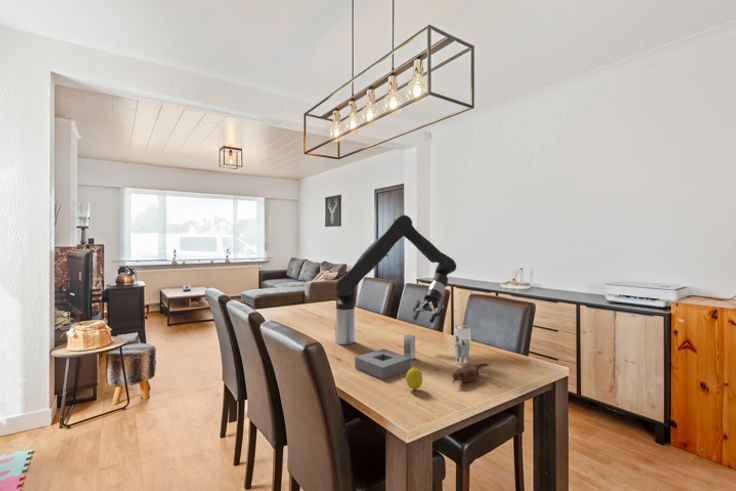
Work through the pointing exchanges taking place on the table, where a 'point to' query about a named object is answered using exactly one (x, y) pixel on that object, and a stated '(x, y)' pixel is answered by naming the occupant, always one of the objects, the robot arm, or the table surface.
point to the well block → (383, 363)
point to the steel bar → (409, 346)
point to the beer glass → (462, 344)
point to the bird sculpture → (468, 372)
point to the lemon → (414, 378)
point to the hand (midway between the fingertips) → (422, 320)
